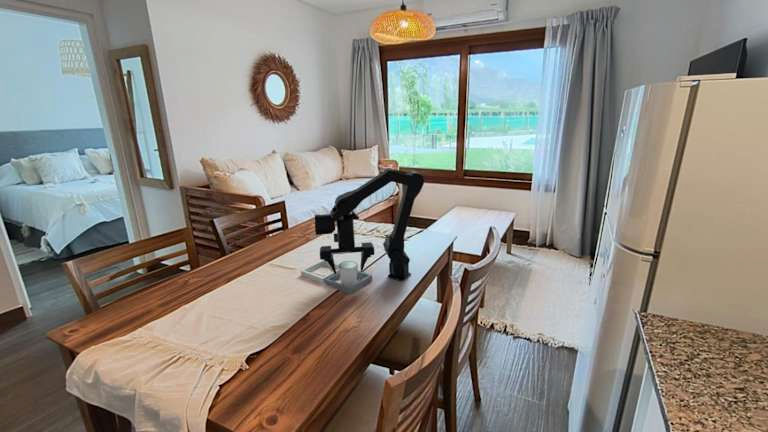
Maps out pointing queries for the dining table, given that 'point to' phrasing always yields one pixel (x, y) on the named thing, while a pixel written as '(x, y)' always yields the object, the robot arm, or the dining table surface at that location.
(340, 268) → the shot glass
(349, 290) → the tray
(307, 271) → the tray
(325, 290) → the dining table surface
